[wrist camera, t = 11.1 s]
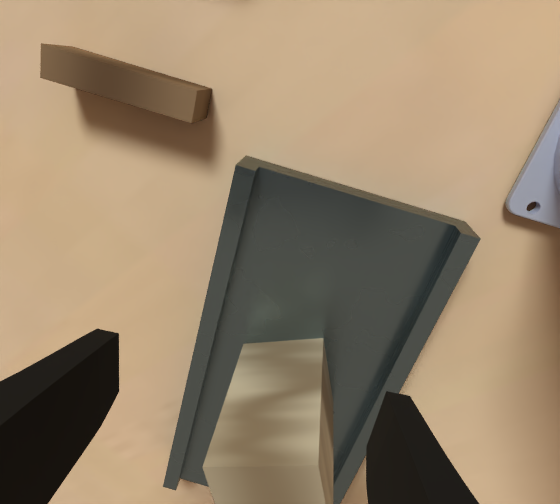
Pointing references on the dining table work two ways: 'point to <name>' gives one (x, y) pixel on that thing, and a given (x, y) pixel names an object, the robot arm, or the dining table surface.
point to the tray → (318, 300)
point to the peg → (275, 428)
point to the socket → (124, 82)
